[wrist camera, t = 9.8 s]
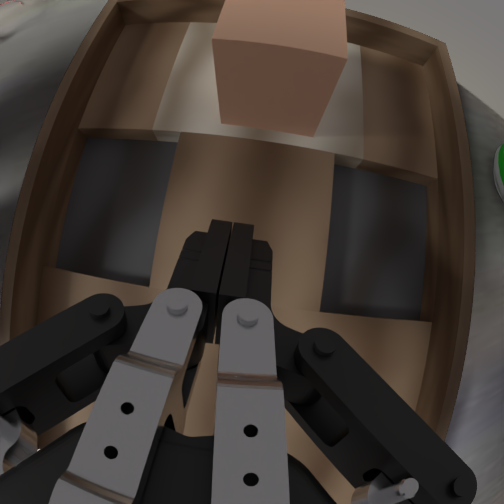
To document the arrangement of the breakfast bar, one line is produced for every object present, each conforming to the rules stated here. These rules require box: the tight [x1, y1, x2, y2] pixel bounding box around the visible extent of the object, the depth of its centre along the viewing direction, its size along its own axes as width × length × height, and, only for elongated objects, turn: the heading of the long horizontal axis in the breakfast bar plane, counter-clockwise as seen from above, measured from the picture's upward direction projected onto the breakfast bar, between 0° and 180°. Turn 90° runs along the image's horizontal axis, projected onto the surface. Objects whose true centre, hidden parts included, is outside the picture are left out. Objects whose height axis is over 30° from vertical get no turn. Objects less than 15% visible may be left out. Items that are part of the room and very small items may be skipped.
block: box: [212, 0, 348, 137], centre depth 16 cm, size 6×6×8 cm
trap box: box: [0, 0, 475, 504], centre depth 18 cm, size 28×36×5 cm
